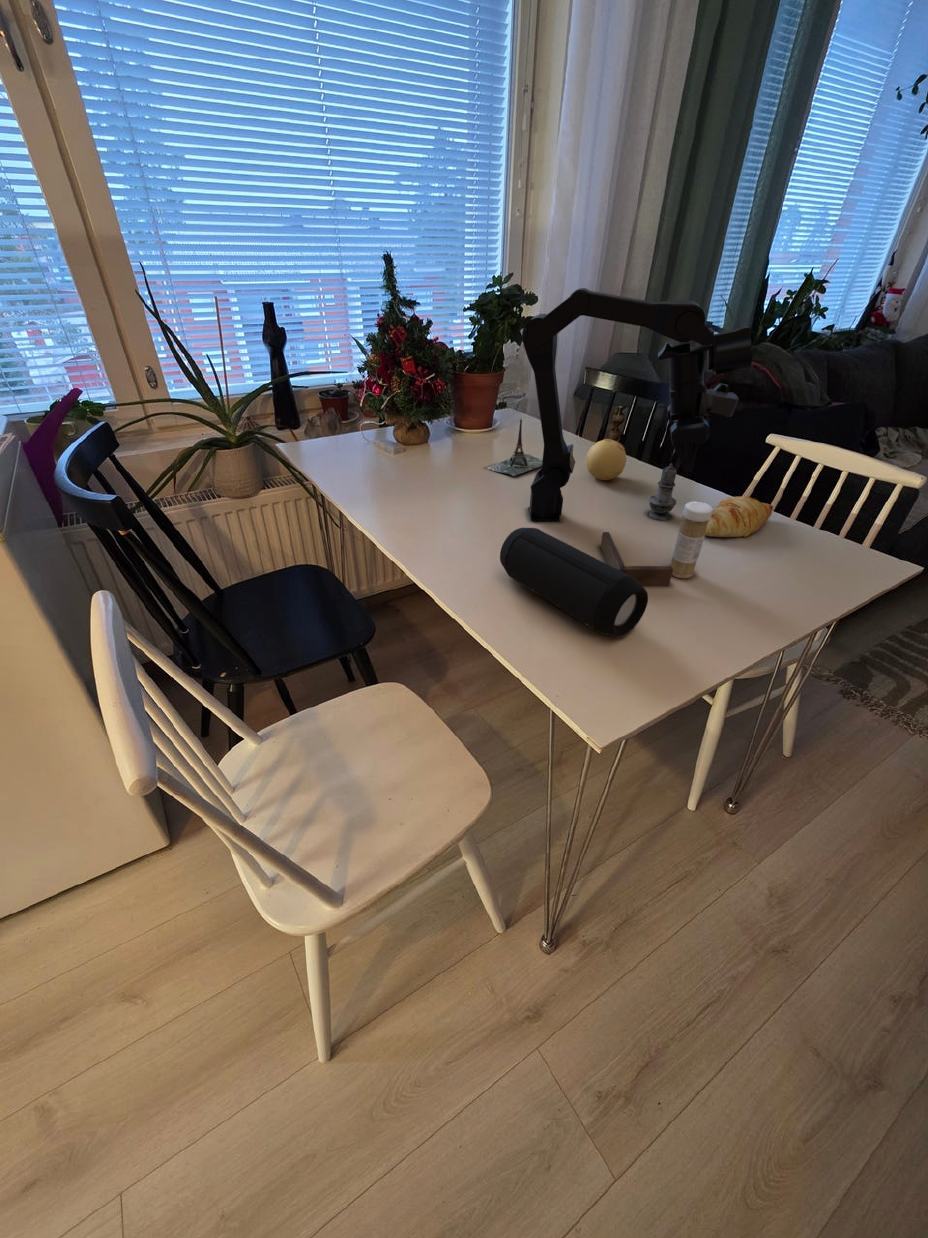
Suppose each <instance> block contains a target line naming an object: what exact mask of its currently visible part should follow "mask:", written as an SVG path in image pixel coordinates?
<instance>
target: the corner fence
mask: <svg viewBox="0 0 928 1238" xmlns="http://www.w3.org/2000/svg"><path fill="white" fill-rule="evenodd" d="M599 548H600V551H601V553H602V555H603V557H604V560H605V563H606V564H608V565H610V566H612V567H614V568H615V569H617V570H619V571H621V572H623V573H625V574H627V575H629V576H631V577H634V578H635V579H636V580H637V581H638V582H639V583H640V584H641V585H642V586H643V587H669V586H670V582H671V579H672V576H673V575H672V572H673V568H672V567H671V566H670V565H625V563H624V560H623V559H622V556H621V553H620V552H619V550H618V547H617V546H616V544H615V543H614V540H613V538H612V535H611V534H610V532H609V531H602V535H601V541H600V545H599Z"/></svg>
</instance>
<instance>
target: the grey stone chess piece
mask: <svg viewBox="0 0 928 1238" xmlns="http://www.w3.org/2000/svg"><path fill="white" fill-rule="evenodd" d="M676 476H677V469H676V468H675V467H674V466H673V463H672V462H671V463H669V466H665V467H664V468H663V469H662V473H661V476H660V480H659V481H658V482H657V485H658V488H657V492H656V494H654V495H651V496H650V497H648V501H649V508H650V509H651V510H649V511H647V513H646V515H647V517H648V518H650V519H652V520H656V521H662V522H663V521H664V522H665V521H669V520H671V519H672V514H671V513H670V512H672V510H673V509H674V508H675V506H676V505H677V504H678V503H677V502H678V501H677V499H675V498H674V497H673V491H674V487H676V483H675V480H676Z"/></svg>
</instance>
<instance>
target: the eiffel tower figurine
mask: <svg viewBox="0 0 928 1238" xmlns="http://www.w3.org/2000/svg"><path fill="white" fill-rule="evenodd" d="M522 423H523V420H522V418H520V419H519V428H518V438H517V442H516V446H515V449H514V451H513V454H512V455H511V457H510V458H509V459H506V460H504V461H503V460H502V461H501V462H498V463H495V464H493V465H491V466H489V467H486V470H490V471H493V472H497V473H501V474H502V473H503V474H507V475H510V476H513V477H515V476H518V475H520V474H524V473H526V472H529V471H531V470H534V469H537V468H540V467H542V460H543V459H541V458H538V457H535V456H533V455H530V454H527V453H525V452H524V450H523V444H522V443H523V442H522V429H523V428H522V426H523V425H522ZM519 449H520V451H519Z"/></svg>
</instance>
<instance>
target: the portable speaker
mask: <svg viewBox="0 0 928 1238" xmlns="http://www.w3.org/2000/svg"><path fill="white" fill-rule="evenodd" d="M503 541H504V542H503V543H502V545H501V548H500V551H499V561H500V564H501V566H502V567H503V569H504V570H505V572H506V574H507V575H508V576H509V577H510V578H511V579H513V580H514V581H516V582H517V583H518V584H520V585H522V586H524V587H525V588H527V589H528V590H530V591H532V592H533V593H535V594H536V595H538V596H540V597H541V598H543V599H544V600H546V601H548V602H550V603H551V604H553V605H555V606H556V607H557V608H559V609H561V610H562V611H564V612H565V613H567V614H569V615H570V616H572V617H574V618H575V619H576V620H578V621H580V622H582V623H583V624H584V625H587V627H590V628H591V629H593V630H594V631H597V632H598V633H599V634H601V635H606V636H612V637H617V638H619V637H623V636H626V635H627V634H629V633H630V632H631V631H632V630H633V629H635V628H636V626H637V625H638V624H639V622H640V621H641V619H642V618H643V615H644V614H645V612H646V609H647V607H648V603H649V594H648V591H647V590H646V589H645V587H644V586H642V585H641V584H640V583H639V582H638V581H637V580H636V579H635V578H634V577H631V576H629V575H627V574H625V573H623V572H621V571H619V570H617V569H615V568H614V567H612V566H610V565H608V564H607V562H603V561H602V560H600V559H599V558H596V557H594V556H592V555H590V554H588V553H586V552H584V551H582V550H580V549H578V548H577V547H575V546H572V545H570V544H568V543H567V542H565V541H563V540H561V539H559V538H557V537H556V536H555V537H554V536H553V535H551V534H549V533H547V532H545V531H543V530H541V529H540V528H536V527H519V528H516V529H514V530H512V531H511V532H510V533H509V534H508V535H507V536H506V538H505V539H504V540H503Z"/></svg>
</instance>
